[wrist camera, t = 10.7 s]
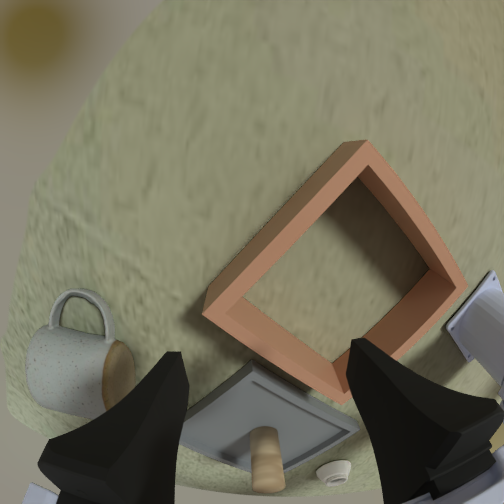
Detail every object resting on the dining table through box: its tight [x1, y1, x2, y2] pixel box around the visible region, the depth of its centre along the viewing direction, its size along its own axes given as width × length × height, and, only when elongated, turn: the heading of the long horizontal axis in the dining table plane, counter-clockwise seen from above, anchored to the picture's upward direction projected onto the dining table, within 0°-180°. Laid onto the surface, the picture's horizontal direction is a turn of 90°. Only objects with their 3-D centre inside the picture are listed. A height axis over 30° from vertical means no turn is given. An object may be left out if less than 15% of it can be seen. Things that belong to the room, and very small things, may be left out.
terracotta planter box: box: [202, 140, 468, 405], centre depth 19 cm, size 14×14×4 cm
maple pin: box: [250, 426, 285, 493], centre depth 23 cm, size 3×3×7 cm
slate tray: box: [179, 360, 360, 473], centre depth 26 cm, size 16×14×2 cm
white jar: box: [316, 460, 351, 486], centre depth 30 cm, size 5×3×5 cm
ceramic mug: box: [25, 289, 135, 419], centre depth 19 cm, size 11×8×8 cm
